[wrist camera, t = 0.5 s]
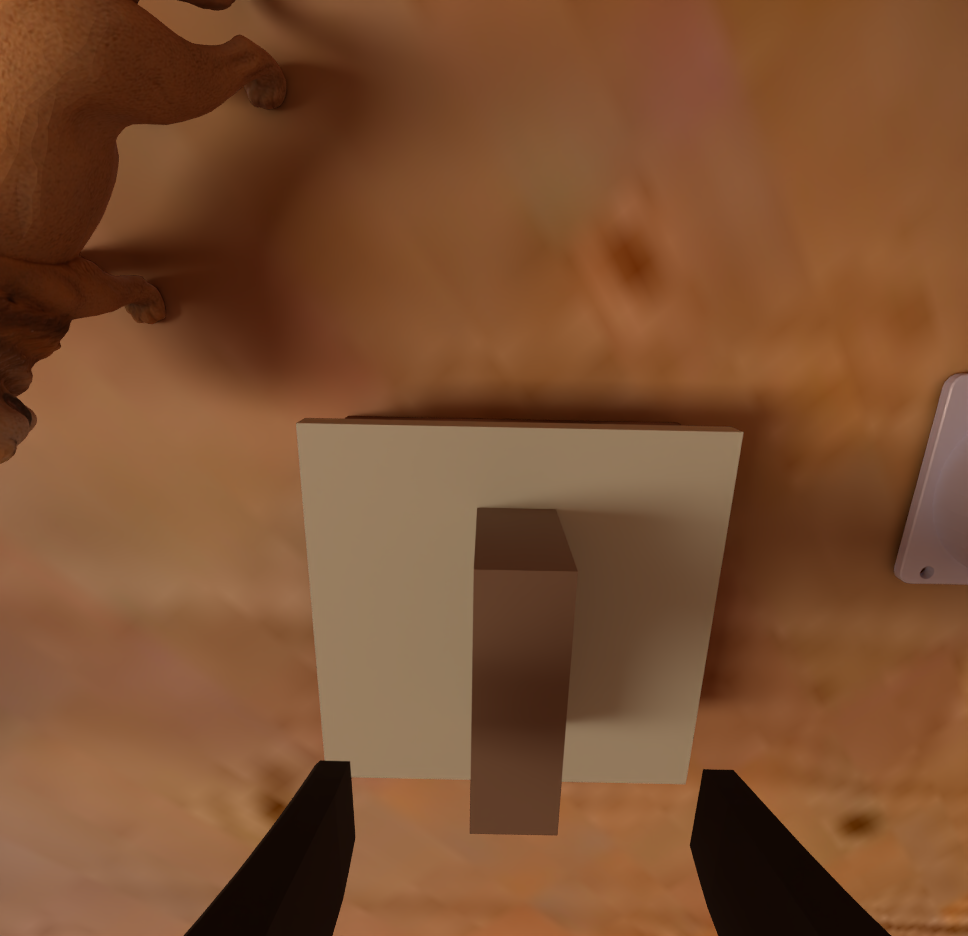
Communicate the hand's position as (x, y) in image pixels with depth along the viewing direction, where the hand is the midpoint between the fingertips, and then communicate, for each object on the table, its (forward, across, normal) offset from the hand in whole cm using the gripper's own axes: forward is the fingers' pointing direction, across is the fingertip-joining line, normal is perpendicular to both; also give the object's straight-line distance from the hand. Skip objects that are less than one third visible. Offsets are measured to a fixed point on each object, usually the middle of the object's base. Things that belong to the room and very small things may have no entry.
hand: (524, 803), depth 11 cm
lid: (+7, 0, 0) cm, 7 cm away
